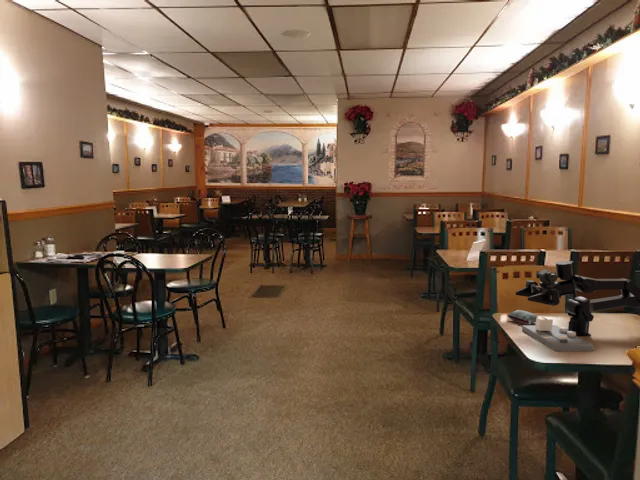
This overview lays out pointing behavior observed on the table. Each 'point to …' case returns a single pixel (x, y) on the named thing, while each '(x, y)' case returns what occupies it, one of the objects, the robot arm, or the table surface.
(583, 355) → the table surface
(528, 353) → the table surface
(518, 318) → the packaged food
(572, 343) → the console
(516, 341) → the table surface
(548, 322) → the block
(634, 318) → the table surface
